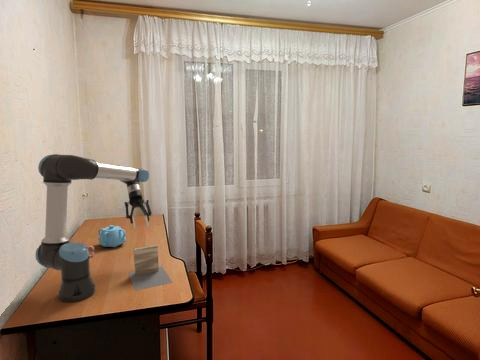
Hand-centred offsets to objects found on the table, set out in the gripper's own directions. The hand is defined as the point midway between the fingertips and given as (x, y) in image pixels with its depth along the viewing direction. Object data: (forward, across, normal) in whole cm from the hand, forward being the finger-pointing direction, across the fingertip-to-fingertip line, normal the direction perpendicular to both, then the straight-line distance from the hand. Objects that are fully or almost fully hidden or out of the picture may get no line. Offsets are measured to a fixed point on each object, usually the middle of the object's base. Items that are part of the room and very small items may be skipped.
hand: (141, 227), depth 176 cm
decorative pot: (-15, +12, -47) cm, 51 cm away
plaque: (+24, 0, -7) cm, 25 cm away
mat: (+29, 0, -3) cm, 29 cm away
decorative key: (-5, +34, -38) cm, 51 cm away
